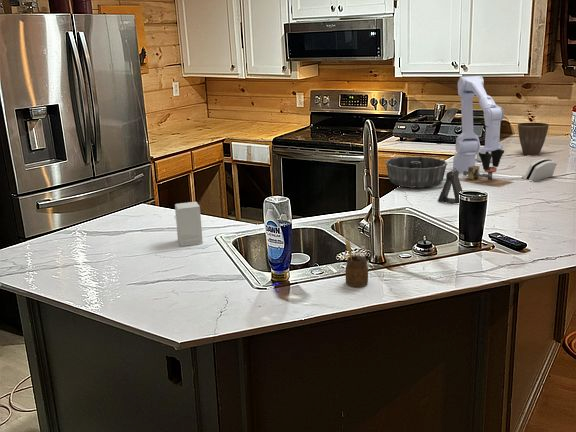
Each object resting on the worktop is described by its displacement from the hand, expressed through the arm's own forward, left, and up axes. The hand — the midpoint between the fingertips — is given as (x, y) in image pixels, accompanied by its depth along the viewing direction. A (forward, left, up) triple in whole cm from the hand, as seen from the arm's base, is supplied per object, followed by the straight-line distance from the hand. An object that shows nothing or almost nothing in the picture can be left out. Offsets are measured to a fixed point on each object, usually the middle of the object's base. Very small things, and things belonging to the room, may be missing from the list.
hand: (490, 168), depth 262 cm
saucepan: (-27, +47, -7) cm, 55 cm away
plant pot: (-18, +71, -7) cm, 74 cm away
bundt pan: (-24, -20, -7) cm, 32 cm away
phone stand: (+4, -35, -7) cm, 36 cm away
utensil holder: (+33, -122, -7) cm, 126 cm away
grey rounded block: (+11, +22, -7) cm, 26 cm away
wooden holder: (-8, 0, -6) cm, 10 cm away
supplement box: (-30, -133, -7) cm, 136 cm away
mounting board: (-2, 0, -7) cm, 7 cm away
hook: (-5, 0, -5) cm, 7 cm away
